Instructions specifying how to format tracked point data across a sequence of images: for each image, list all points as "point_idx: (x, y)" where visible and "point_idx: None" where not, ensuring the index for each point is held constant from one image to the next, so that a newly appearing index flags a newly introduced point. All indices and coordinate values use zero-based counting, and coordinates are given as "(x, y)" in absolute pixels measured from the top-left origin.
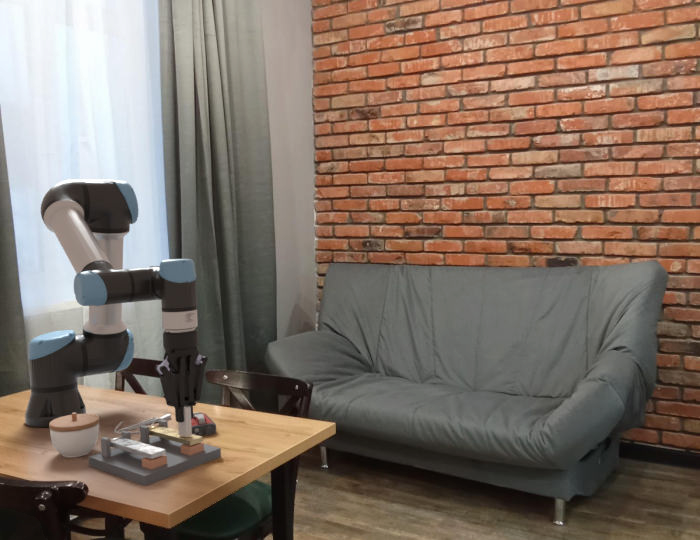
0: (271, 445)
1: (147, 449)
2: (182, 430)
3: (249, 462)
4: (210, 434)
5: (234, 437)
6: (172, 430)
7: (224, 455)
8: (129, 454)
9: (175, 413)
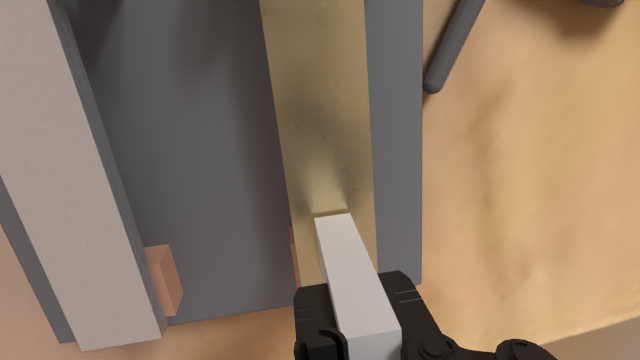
0: (578, 283)
1: (89, 287)
2: (321, 263)
3: None
4: (586, 2)
5: (600, 118)
6: (350, 98)
7: (427, 258)
8: (87, 65)
9: (296, 331)
